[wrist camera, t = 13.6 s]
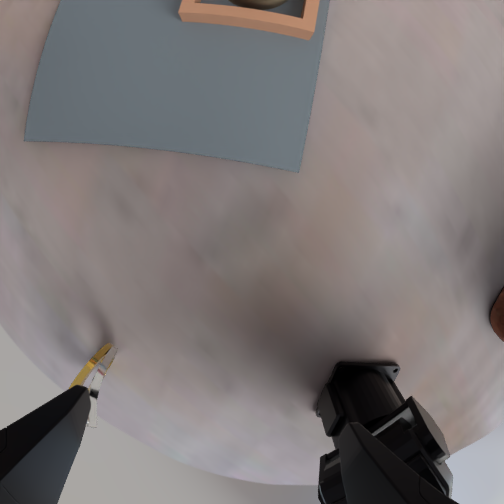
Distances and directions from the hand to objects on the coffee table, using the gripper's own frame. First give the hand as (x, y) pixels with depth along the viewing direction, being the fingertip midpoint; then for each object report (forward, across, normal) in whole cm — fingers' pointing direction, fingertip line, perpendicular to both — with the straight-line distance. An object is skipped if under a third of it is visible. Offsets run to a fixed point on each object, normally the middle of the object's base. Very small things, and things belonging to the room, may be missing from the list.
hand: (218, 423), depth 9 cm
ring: (+13, +9, +9) cm, 19 cm away
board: (+13, +7, -17) cm, 22 cm away
